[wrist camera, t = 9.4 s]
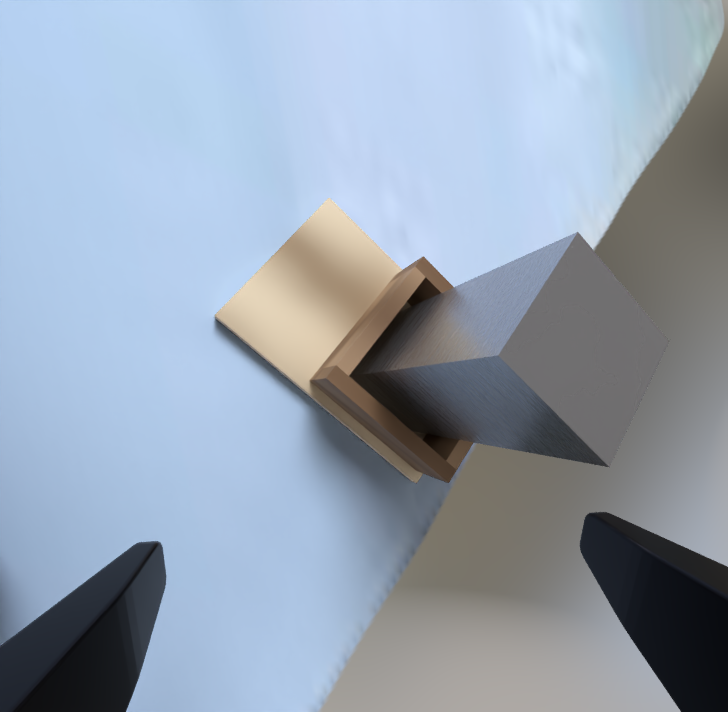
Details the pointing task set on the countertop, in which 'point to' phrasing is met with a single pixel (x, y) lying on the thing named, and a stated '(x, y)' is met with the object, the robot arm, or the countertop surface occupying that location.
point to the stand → (340, 330)
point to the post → (522, 358)
